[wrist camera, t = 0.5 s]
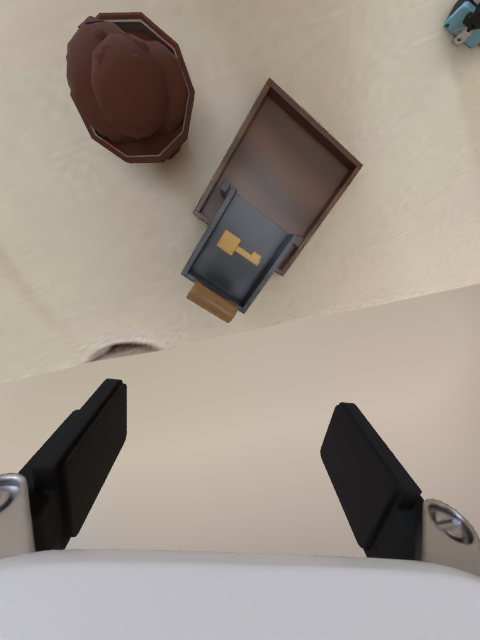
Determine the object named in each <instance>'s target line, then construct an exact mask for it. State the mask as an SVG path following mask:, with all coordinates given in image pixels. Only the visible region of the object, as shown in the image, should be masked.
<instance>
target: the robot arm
mask: <svg viewBox="0 0 480 640" xmlns="http://www.w3.org/2000/svg"><path fill="white" fill-rule="evenodd" d="M126 435H127V386H126V384H123V382H122V380H117V379H106V380H105V381H104V382H103V383H102V384H101V385H100V387H99V388H98V389H97V390H96V391H95V392H94V394H93V395H92V396H91V397H90V398H89V400H88V401H87V402H86V403H85V404H84V405H83V406H82V407H81V409H80V410H75V411H73V412H72V414H70V416H69V417H68V418H67V419H66V420H65V421H64V422H63V423H62V424H61V425H60V427H59V428H58V429H57V430H56V431H55V432H54V433H53V434H52V436H51V437H50V438H49V439H48V440H47V441H46V442H45V443H44V445H43V446H42V447H41V448H40V449H39V450H38V451H37V452H36V454H35V455H34V456H33V457H32V458H31V459H30V460H29V461H28V463H27V464H26V465H25V466H24V467H23V468H22V469H21V470H20V471H19V473H18V474H17V473H7V474H1V475H0V640H480V539H479V536H478V534H477V532H476V531H475V530H474V528H473V526H472V525H471V524H470V523H469V522H468V521H467V520H466V519H465V518H464V517H463V516H462V515H461V514H460V513H459V512H458V511H456V510H455V509H453V508H452V507H451V506H449V505H448V504H445V503H443V502H441V501H439V500H435V499H427V500H425V501H424V500H423V498H422V497H421V496H420V494H421V493H422V491H421V490H420V488H419V487H418V486H417V484H416V483H415V482H414V481H413V479H412V478H411V477H410V475H409V474H408V473H407V471H406V470H405V469H404V467H403V466H402V465H401V464H400V462H399V461H398V460H397V458H396V457H395V456H394V454H393V453H392V452H391V451H390V450H389V448H388V447H387V445H386V444H385V443H384V441H383V440H382V439H381V438H380V436H379V435H378V434H377V432H376V431H375V429H374V428H373V427H372V426H371V424H370V423H369V422H368V421H367V419H366V418H365V416H364V415H363V414H362V413H361V411H360V410H359V409H358V407H357V406H356V405H355V404H353V403H344V402H341V403H340V404H339V405H337V406H336V407H335V409H334V412H333V415H332V418H331V421H330V424H329V427H328V429H327V432H326V435H325V438H324V441H323V444H322V447H321V451H320V453H321V458H322V461H323V463H324V465H325V468H326V470H327V472H328V475H329V477H330V479H331V482H332V484H333V486H334V489H335V491H336V494H337V496H338V498H339V501H340V503H341V505H342V507H343V510H344V512H345V515H346V517H347V519H348V522H349V524H350V526H351V529H352V531H353V533H354V536H355V538H356V540H357V543H358V544H359V546H360V547H361V548H363V549H364V551H365V554H366V556H367V557H342V556H318V555H291V554H264V553H233V552H202V551H166V550H129V549H127V550H124V549H121V550H120V549H71V550H69V549H68V550H64V549H65V548H66V546H67V544H68V542H69V540H70V538H71V537H75V536H77V534H78V533H79V531H80V529H81V527H82V525H83V523H84V521H85V519H86V517H87V515H88V513H89V511H90V509H91V508H92V505H93V504H94V502H95V499H96V498H97V496H98V494H99V492H100V490H101V487H102V486H103V484H104V482H105V480H106V478H107V476H108V474H109V472H110V470H111V468H112V466H113V464H114V462H115V460H116V458H117V456H118V454H119V452H120V450H121V448H122V446H123V444H124V442H125V439H126Z"/></svg>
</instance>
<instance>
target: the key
mask: <svg viewBox="0 0 480 640" xmlns="http://www.w3.org/2000/svg"><path fill="white" fill-rule="evenodd" d="M240 241H241V240H240V239H239V238H238V237H236V236H235V235H233V234H232V233H231V232H229V231H228V230H225V232H224V233H223V235H222V237H221V238H220V240H219V242H218V243H217V245H216V246H218V247H219V248H221V249H222V250H224V251H225V252H227V253H228V254H229V255H232V254H233V252H234V251H236V252H238V253H239V254H240V255H242V256H243V257H245V258H246V259H248V260H249V261H250V262H252V263H253V264H255V265H256V266H258V264H259V263H260V261H259V260H260V258H261V256H260V255H258V254H257V253H256V252H254V251H253V253H252V254H249V253H248V252H246V251H245V250H243V249H242V248H241V247H239V246H238V244H239V243H240Z"/></svg>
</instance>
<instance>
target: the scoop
mask: <svg viewBox="0 0 480 640" xmlns="http://www.w3.org/2000/svg"><path fill="white" fill-rule="evenodd" d="M236 192H237V189H236V188H234V187H233V186H232V188H231V189H230V191H229V193H228V194H227V196H226V198H225V199H224V201H223V203H222V205H221V206H220V208H219V210H218V211H217V213H216V215H215V216H214V218H213V220H212V222H211V223H210V225H209V227H208V228H207V230H206V232H205V233H204V235H203V237H202V239H201V240H200V242H199V244H198V245H197V247H196V249H195V250H194V252H193V254H192V256H191V257H190V259H189V261H188V262H187V264H186V266H185V267H184V269H183V271H182V273H181V275H183V276H185V277H186V278H188V279H189V280H191V281H193V282H194V283H195V284H194V286H193V287H192V289H191V291H190V292H189V294H188V295H187V297H186V298H187V299H189V300H190V301H192V302H194V303H195V304H197V305H199V306H200V307H202V308H204V309H205V310H207V311H209V312H210V313H212V314H213V315H215V316H217V317H218V318H220V319H222V320H223V321H225V322H227V323H229V322H230V321H231V320H232V319H233V317H234V316H235V314H236V312H237V310H239V311H240V312H242V313H243V314H244V313H245V312H246V311H247V309H248V308H249V306H250V305H251V303H252V302H253V301H254V299H255V298H256V296H257V295H258V294H259V292H260V291H261V289H262V288H263V286H264V285H265V284H266V282H267V281H268V279H269V278H270V277H271V275H272V274H273V272H274V271H275V270H276V268H277V267H278V265H279V264H280V262H281V261H282V260H283V258H284V257H285V255H286V254H287V253H288V251H289V250H290V248H291V247H292V245H293V244H294V243H295V241H296V240H297V238H298V236H297V235H295V234H289V233H287V232H286V231H285V230H283V229H282V228H281V227H279V226H278V225H277V224H275V223H274V222H273V221H272V220H270V219H269V218H268V217H266V216H265V215H264V214H262V213H261V212H260V211H258V210H257V209H256V208H255V207H253V206H252V205H251V204H249V203H248V202H247V201H245V200H244V199H243V198H241V197H240V196H239V195H238V194H236ZM225 230H228V231H229V232H231V233H232V234H233V235H235V236H236V237H238V238H239V239H240V240H241V241H240V243H239V244H238V246H239V247H241V248H242V249H243V250H245V251H246V252H248V253H249V254H252V253H253V251H254V252H256V253H257V254H258V255H260V256H261V258H260V260H259V261H260V263H259V264H258V266H256V265H255V264H253V263H252V262H250V261H249V260H248V259H246V258H245V257H243V256H242V255H240V254H239V253H238V252H236V251H234V252H233V254H232V255H229V254H228V253H227V252H225V251H224V250H222V249H221V248H219V247H218V246H216V245H217V243H218V242H219V240H220V238H221V237H222V235H223V233H224V232H225Z"/></svg>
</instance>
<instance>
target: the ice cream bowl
mask: <svg viewBox="0 0 480 640" xmlns="http://www.w3.org/2000/svg"><path fill="white" fill-rule="evenodd" d="M78 27H79V29H78V30H77V32H76V33H75V35H74V36H73V37H72V39H71V40H70V41H69V43H68V46H67V56H66V59H67V80H68V85H69V87H70V89H71V94H70V95H71V97H72V99H73V101H74V103H75V105H76V107H77V109H78V111H79V113H80V115H81V117H82V119H83V121H84V124H85V126H86V128H87V130H88V132H89V134H90V136H91V138H92V139H93V140H95V141H96V142H98V143H99V144H101V145H102V146H103V147H105V148H106V149H108V150H109V151H111V152H112V153H113V154H115V155H116V156H118V157H119V158H121V159H122V160H124V161H125V162H127V163H155V162H165V161H166V160H167V159H171V158H172V157H173V156H174V155H175V154H176V153H177V152H178V151H179V150H180V147H181V145H182V144H183V143H184V142H185V141H186V140H187V137H188V131H189V125H190V119H191V113H192V108H193V102H194V93H195V91H194V88H193V86H192V83H191V80H190V77H189V74H188V71H187V68H186V65H185V62H184V60H183V57H182V54H181V51H180V48H179V45H178V44H177V43H176V42H175V41H174V40H173V39H172V38H170V37H169V36H168V35H167V34H166V33H165V32H164V31H162V30H161V29H160V28H159V27H158V26H157V25H155V24H154V23H153V22H152V21H151V20H150V19H148V18H147V17H146V16H145V15H144V14H143V13H142V12H130V13H99V14H98V15H97V16H96V18H95V17H92V16H89V17H88V18H87V19H86V20H85V21H84V22H83V23H82V24H81V25H80V26H78Z"/></svg>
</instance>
